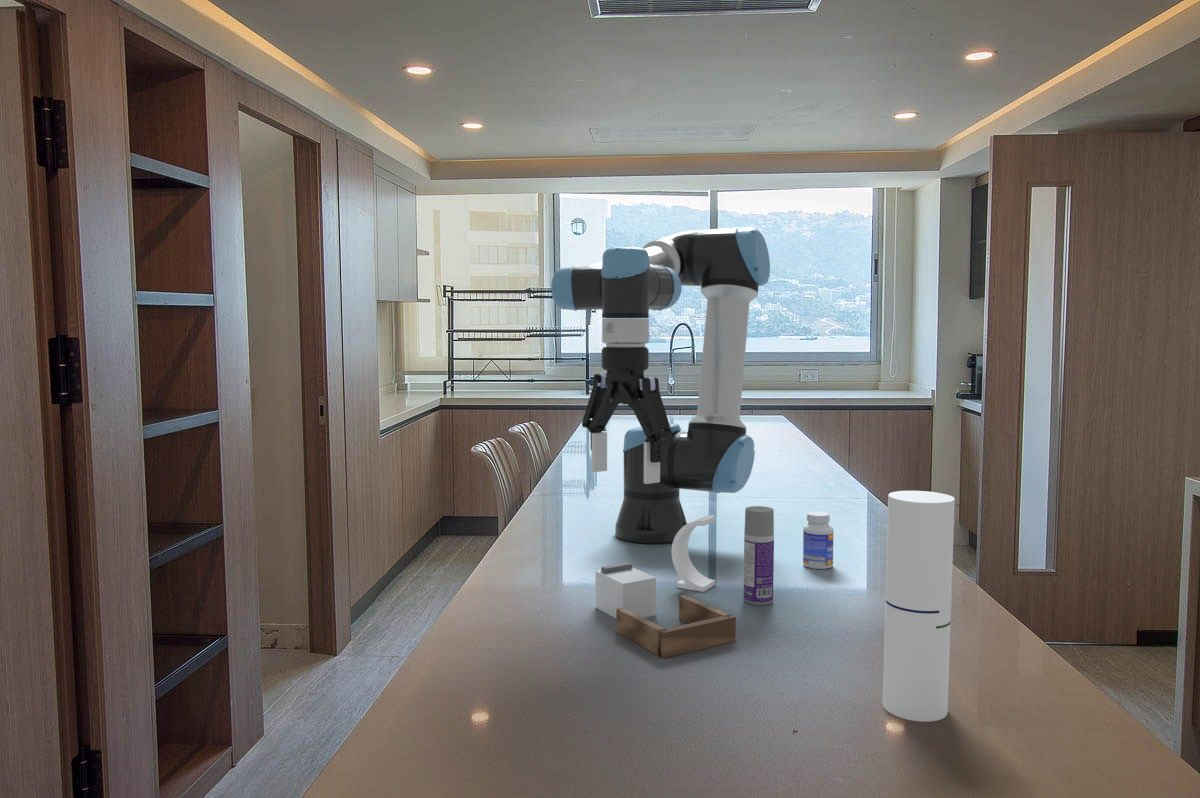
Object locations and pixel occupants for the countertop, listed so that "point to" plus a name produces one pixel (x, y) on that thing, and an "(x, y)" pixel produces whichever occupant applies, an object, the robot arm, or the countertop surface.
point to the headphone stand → (683, 562)
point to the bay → (679, 629)
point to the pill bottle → (818, 541)
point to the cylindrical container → (918, 604)
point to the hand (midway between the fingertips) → (624, 477)
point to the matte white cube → (625, 590)
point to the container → (758, 555)
